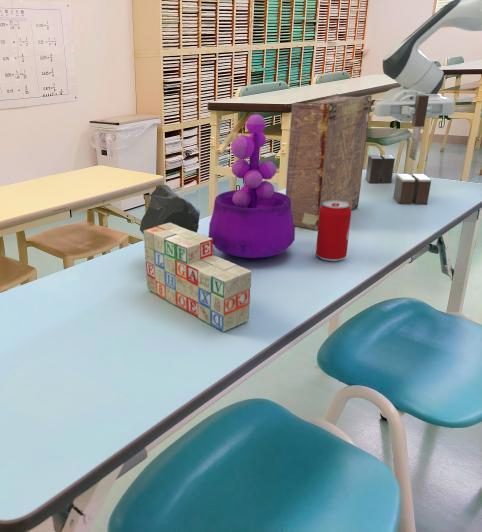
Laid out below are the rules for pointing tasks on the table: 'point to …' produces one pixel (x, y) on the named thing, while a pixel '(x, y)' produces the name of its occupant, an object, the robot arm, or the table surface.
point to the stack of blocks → (196, 276)
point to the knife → (418, 122)
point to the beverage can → (333, 230)
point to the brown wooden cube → (412, 188)
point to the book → (325, 154)
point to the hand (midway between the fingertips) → (421, 111)
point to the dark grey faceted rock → (169, 211)
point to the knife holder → (380, 168)
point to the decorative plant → (252, 204)
